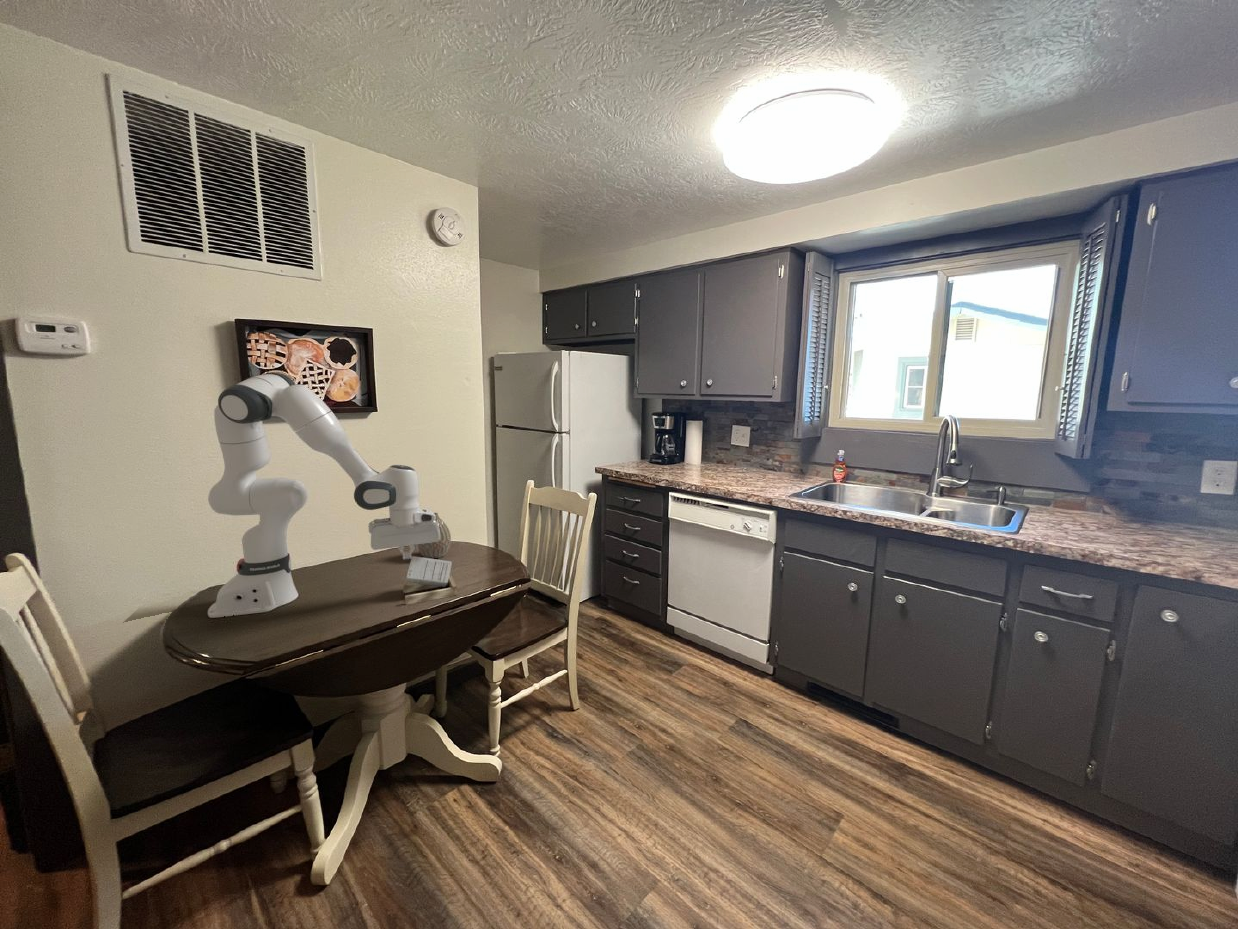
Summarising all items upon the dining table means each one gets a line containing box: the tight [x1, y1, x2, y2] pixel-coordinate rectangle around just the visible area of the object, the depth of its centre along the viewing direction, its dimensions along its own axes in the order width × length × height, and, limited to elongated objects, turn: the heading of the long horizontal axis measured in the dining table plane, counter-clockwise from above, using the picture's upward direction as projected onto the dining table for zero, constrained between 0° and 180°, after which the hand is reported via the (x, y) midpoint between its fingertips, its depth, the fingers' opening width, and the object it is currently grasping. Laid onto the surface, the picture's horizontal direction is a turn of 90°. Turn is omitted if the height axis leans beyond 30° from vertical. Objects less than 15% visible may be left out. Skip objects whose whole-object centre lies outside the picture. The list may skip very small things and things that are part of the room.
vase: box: [415, 512, 452, 559], centre depth 194 cm, size 13×13×18 cm
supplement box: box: [406, 555, 453, 588], centre depth 160 cm, size 7×7×13 cm
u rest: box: [402, 574, 458, 606], centre depth 158 cm, size 15×11×3 cm
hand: (407, 558), depth 156 cm, fingers closed
